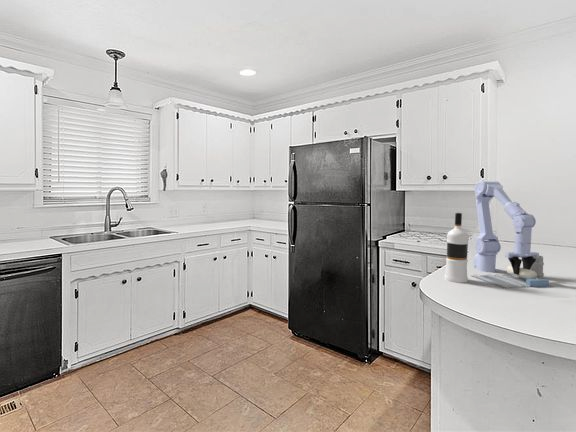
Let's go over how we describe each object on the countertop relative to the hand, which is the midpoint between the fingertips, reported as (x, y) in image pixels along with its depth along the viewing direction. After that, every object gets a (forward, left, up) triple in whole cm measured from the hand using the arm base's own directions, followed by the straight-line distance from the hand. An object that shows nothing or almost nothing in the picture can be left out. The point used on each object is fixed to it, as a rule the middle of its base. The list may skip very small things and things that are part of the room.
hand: (520, 273), depth 149 cm
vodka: (-4, -28, -4) cm, 28 cm away
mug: (-7, +12, -4) cm, 15 cm away
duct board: (0, -6, -4) cm, 7 cm away
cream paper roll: (0, 0, -1) cm, 1 cm away
